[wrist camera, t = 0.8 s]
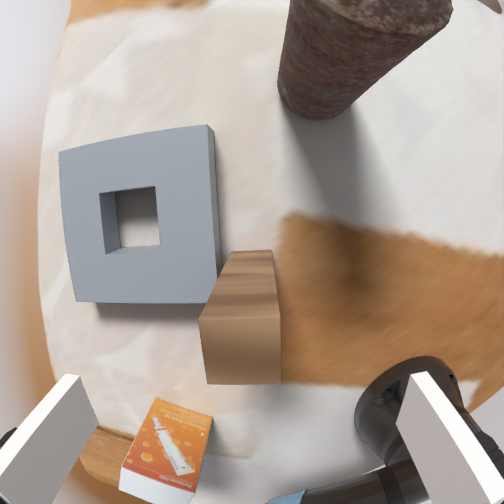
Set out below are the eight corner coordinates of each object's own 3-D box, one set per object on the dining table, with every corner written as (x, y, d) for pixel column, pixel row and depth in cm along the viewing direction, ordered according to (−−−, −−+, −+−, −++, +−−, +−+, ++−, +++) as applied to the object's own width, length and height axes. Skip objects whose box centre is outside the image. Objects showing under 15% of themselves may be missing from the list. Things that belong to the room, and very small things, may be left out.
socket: (223, 290, 31) (219, 302, 28) (91, 291, 32) (76, 301, 28) (213, 131, 28) (207, 124, 24) (76, 154, 28) (58, 152, 25)
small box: (213, 416, 35) (197, 494, 22) (201, 442, 36) (185, 514, 23) (154, 395, 35) (119, 467, 22) (147, 423, 36) (118, 490, 23)
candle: (330, 138, 27) (438, 65, 8) (262, 104, 27) (261, -26, 7) (359, 79, 26) (463, -26, 6) (295, 46, 25) (330, -95, 6)
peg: (272, 288, 31) (281, 383, 15) (233, 289, 31) (207, 384, 15) (271, 249, 30) (280, 317, 14) (230, 251, 30) (198, 319, 14)
